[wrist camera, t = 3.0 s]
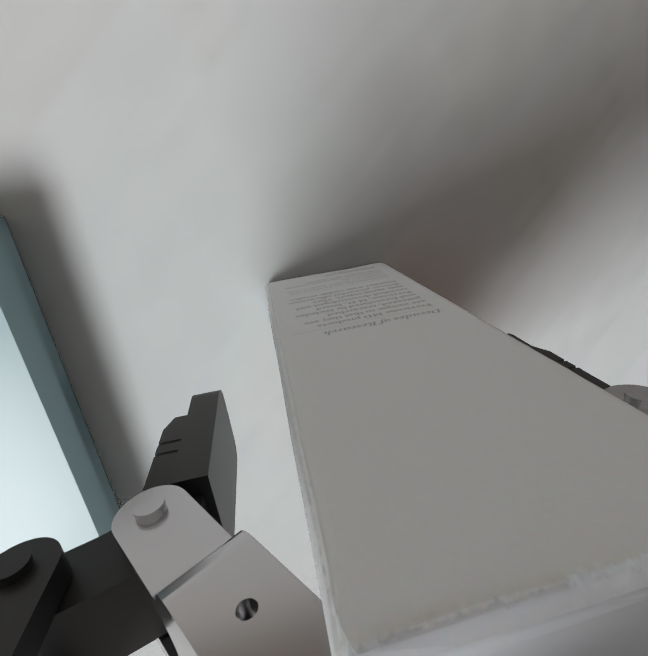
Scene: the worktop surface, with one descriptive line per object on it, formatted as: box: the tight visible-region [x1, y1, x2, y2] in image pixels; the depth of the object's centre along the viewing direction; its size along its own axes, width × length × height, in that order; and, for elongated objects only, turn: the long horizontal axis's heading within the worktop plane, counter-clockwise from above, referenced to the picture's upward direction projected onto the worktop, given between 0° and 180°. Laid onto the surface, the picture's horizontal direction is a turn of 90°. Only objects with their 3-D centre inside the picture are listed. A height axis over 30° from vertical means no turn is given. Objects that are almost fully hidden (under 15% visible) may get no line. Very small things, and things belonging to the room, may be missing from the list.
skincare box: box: [265, 263, 648, 656], centre depth 10 cm, size 6×4×12 cm
